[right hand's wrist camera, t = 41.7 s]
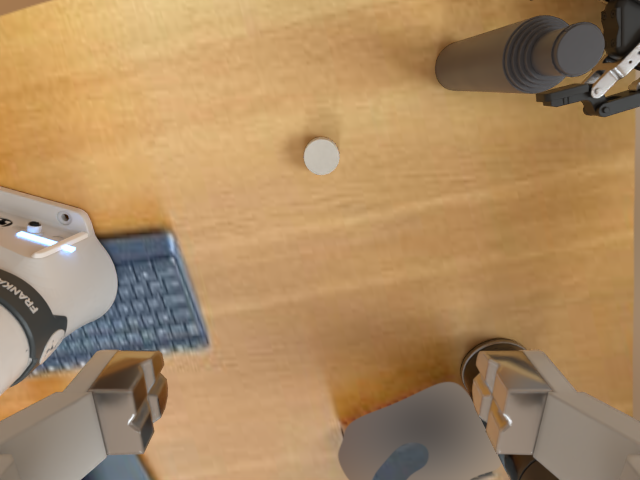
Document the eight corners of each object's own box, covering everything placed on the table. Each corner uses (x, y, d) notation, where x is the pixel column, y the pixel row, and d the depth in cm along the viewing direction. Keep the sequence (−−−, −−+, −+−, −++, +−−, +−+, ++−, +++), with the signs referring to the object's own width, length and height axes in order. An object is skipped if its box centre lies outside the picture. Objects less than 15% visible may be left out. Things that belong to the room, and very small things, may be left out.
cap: (324, 129, 45) (324, 130, 43) (346, 157, 46) (347, 160, 44) (297, 151, 46) (295, 154, 44) (319, 178, 47) (318, 182, 45)
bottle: (488, 71, 43) (638, 58, 22) (449, 99, 44) (560, 112, 23) (465, 31, 42) (603, -20, 21) (426, 62, 43) (521, 40, 22)
